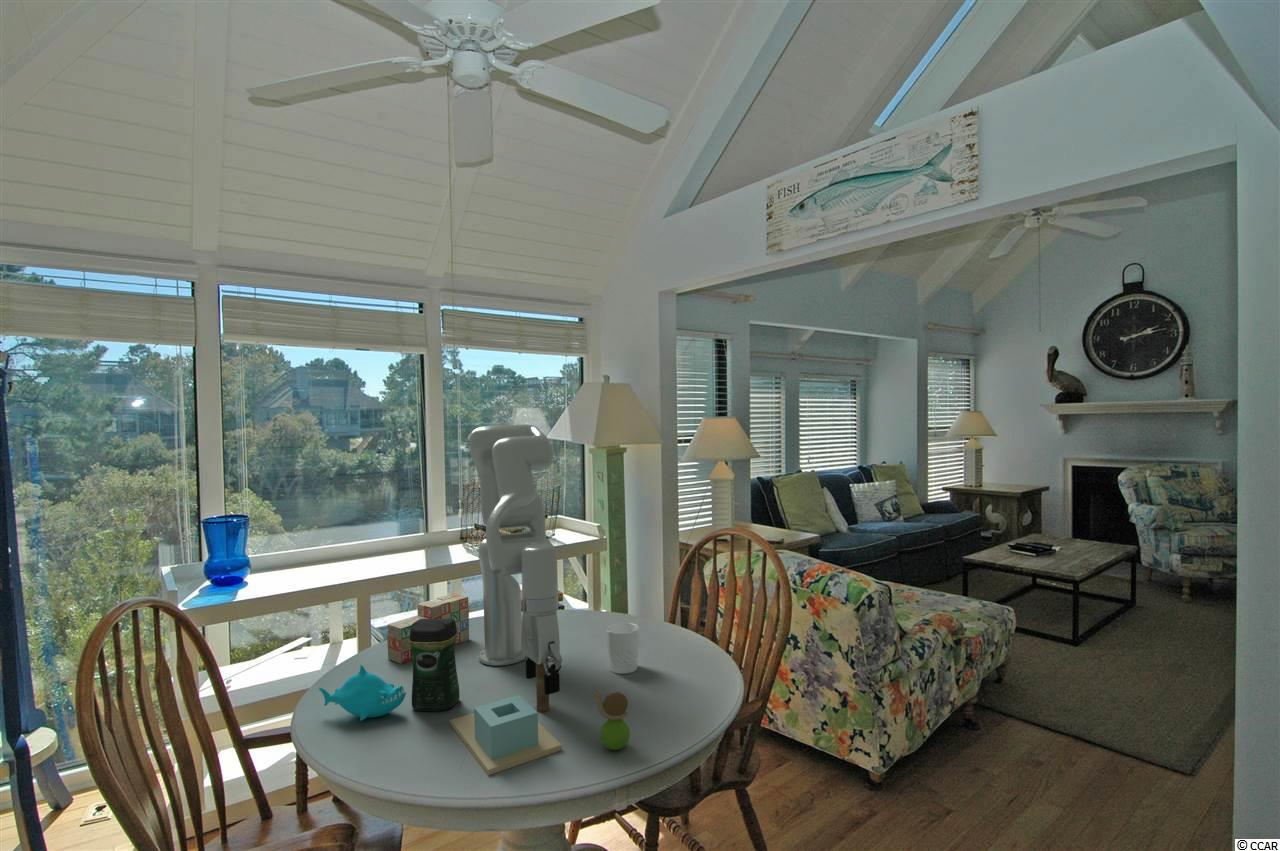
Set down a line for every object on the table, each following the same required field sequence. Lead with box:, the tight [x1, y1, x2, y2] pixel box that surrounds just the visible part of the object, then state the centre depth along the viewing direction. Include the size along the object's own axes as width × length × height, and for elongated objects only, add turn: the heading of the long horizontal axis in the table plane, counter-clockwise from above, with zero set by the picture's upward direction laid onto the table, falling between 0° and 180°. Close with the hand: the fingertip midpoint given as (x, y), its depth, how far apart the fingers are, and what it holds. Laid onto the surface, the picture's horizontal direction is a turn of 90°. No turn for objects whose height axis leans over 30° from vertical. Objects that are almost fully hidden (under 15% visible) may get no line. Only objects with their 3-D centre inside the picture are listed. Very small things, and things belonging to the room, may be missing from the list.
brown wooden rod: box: [535, 657, 550, 713], centre depth 131 cm, size 3×3×14 cm
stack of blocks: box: [386, 593, 470, 664], centre depth 168 cm, size 21×6×12 cm, turn 144°
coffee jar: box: [409, 618, 461, 712], centre depth 135 cm, size 10×8×19 cm
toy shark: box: [318, 664, 407, 722], centre depth 130 cm, size 10×18×11 cm, turn 90°
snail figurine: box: [593, 683, 631, 751], centre depth 115 cm, size 5×6×12 cm
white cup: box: [606, 622, 640, 675], centre depth 152 cm, size 8×8×10 cm
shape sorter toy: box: [450, 694, 563, 776], centre depth 120 cm, size 22×14×7 cm, turn 33°
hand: (542, 684), depth 131 cm, fingers open, 9 cm apart
